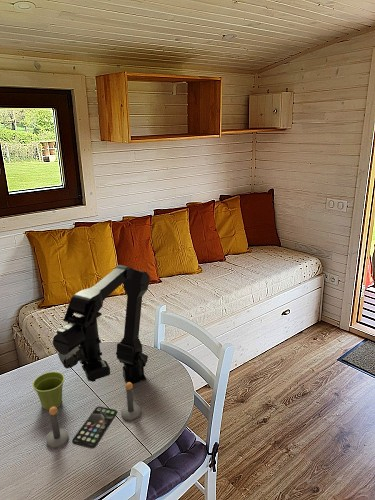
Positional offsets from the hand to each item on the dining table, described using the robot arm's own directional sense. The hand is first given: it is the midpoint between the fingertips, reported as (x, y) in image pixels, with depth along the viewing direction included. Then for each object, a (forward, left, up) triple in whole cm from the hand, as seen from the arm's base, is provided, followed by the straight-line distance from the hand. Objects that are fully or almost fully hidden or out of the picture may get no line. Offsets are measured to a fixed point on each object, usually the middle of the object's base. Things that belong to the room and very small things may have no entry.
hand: (93, 380), depth 113 cm
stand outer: (+12, +4, -13) cm, 18 cm away
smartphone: (+1, +4, -13) cm, 14 cm away
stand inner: (-10, +4, -13) cm, 16 cm away
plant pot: (+11, -12, -13) cm, 21 cm away
